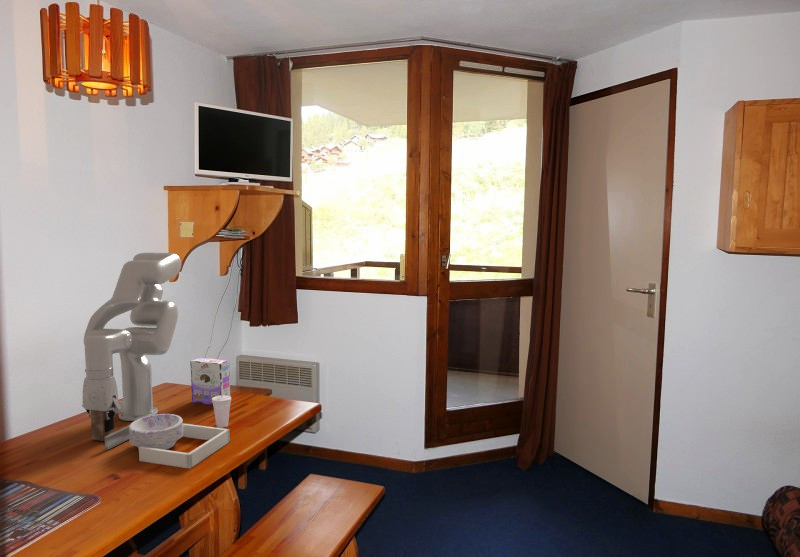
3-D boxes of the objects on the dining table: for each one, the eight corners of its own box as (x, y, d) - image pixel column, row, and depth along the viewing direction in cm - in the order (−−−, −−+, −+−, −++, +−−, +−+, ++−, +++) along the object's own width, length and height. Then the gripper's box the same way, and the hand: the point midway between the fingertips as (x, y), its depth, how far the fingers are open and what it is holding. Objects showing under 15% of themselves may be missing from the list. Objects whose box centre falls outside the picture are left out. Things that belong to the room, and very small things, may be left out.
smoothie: (235, 422, 194) (234, 383, 192) (227, 429, 188) (226, 388, 186) (217, 421, 195) (216, 382, 193) (209, 428, 188) (207, 388, 187)
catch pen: (139, 460, 163) (138, 447, 163) (183, 435, 182) (183, 423, 182) (189, 468, 159) (189, 454, 158) (229, 441, 178) (229, 429, 177)
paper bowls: (130, 461, 163) (129, 434, 162) (129, 442, 177) (127, 417, 176) (186, 451, 170) (185, 426, 169) (180, 434, 184) (179, 410, 183)
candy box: (231, 401, 216) (230, 359, 214) (221, 406, 210) (220, 363, 208) (201, 397, 220) (200, 356, 218) (191, 402, 215) (189, 360, 213)
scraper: (79, 445, 173) (77, 413, 172) (114, 428, 186) (112, 399, 185) (108, 449, 170) (106, 417, 169) (141, 432, 183) (140, 402, 182)
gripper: (68, 374, 175) (71, 430, 178) (112, 379, 171) (115, 437, 173) (87, 368, 183) (90, 422, 185) (130, 372, 178) (133, 428, 180)
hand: (102, 428), depth 179 cm, fingers closed on scraper, 4 cm apart
